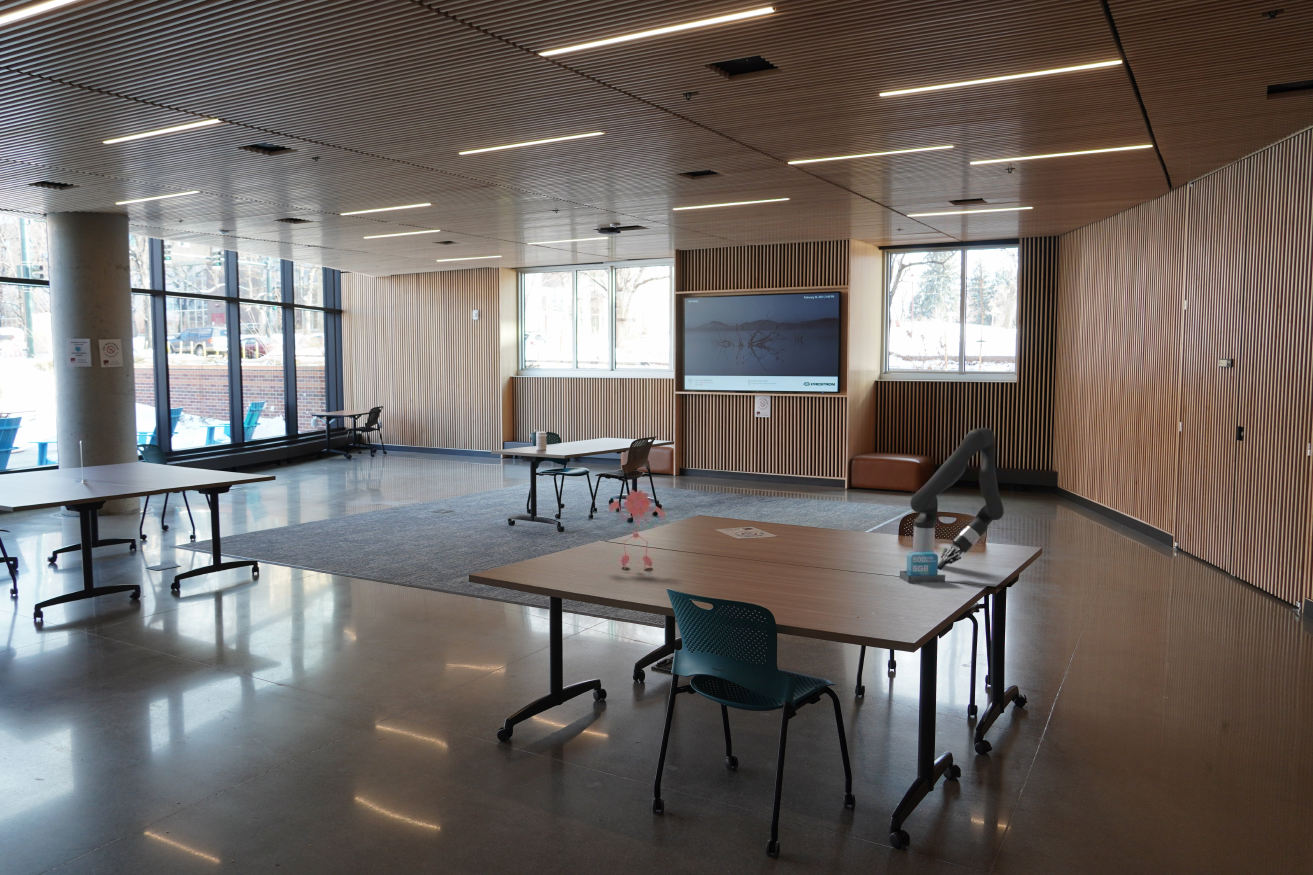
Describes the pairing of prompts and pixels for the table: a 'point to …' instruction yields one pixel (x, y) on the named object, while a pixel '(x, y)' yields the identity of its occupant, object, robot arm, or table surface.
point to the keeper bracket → (921, 578)
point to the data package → (922, 563)
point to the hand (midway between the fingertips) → (938, 568)
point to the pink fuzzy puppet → (636, 506)
